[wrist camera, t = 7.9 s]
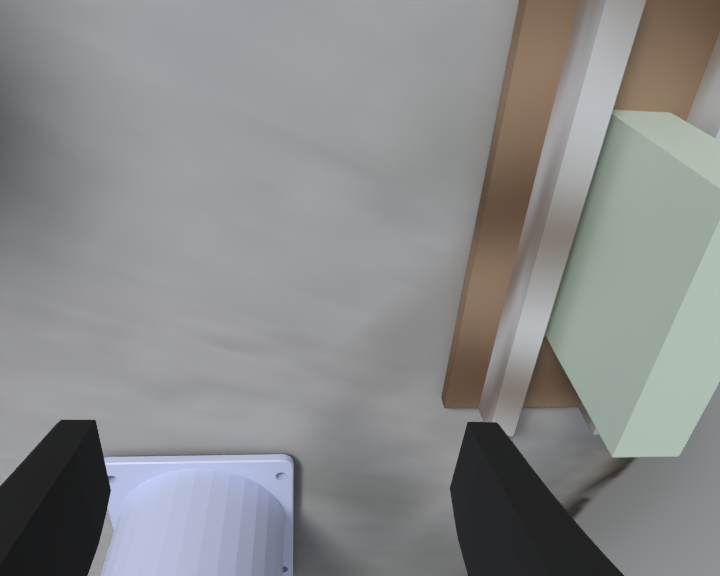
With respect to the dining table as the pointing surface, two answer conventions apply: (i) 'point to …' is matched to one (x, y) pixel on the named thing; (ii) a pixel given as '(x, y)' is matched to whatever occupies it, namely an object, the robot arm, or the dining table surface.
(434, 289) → the dining table surface
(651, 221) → the door panel
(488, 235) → the door track
